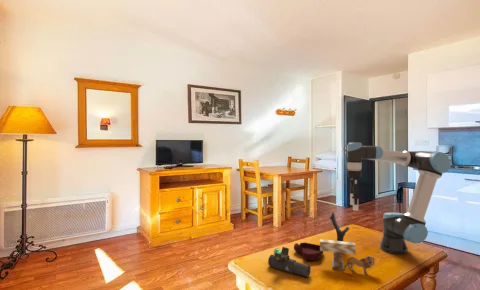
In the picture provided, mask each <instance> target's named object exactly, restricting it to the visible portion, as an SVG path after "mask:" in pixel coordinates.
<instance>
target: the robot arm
mask: <svg viewBox="0 0 480 290" xmlns="http://www.w3.org/2000/svg"><path fill="white" fill-rule="evenodd" d="M346 147H347V148H346V156H347V157H346V160H347V161H346V164H345V166H346V168H347V170H346V176H347V177H348V178H350V180H349V183H350V184H349V194H350V195H349V200H350V201H349V205H350V206H352V211H356V212H359V199H360V194H359V193H360V192H359V180H358V178H362V175H363V173H362V168H363V166H362V165H363V163H362V160H369V161H378V162H384V163H385V162H386V163H391V164H392V163H393V164H398V165H401V166H403V167H408V168H413V169H414V170H415V169H416V170H417V172H418V174H419V175H418V178H417V182H416V184H415V187H414V190H413V193H412V197H411V199H410V202H409V205H408V208H407V211H406V212H405V213H401V212H384V213H383V217H382V230H383V231H382V237H381V240H380V243H379V248H380V249H381V250H382V251H384V252H385V253H389V254H392V255H394V254H395V255H405V254H408V246H407V242H409V243H412V244H420V243H422V242H424V241H426V239H427V237H428V234H429V231H428V228H427V226H426V223H427V222H426V220H425V216H426V213H427V210H428V207H429V204H430V201H431V198H432V195H433V193H434V189H435V186H436V185H437V184H436V183H437V180H438V179H440V178H442V176H443V174H445V173H447V172H449V170H450V168H451V165H452V163H451V159H450V157H449V156H448V155H447V154H446V153H445V152H442V151H435V150H434V151H431V150H430V151H427V150H417V151H415V150H414V151H412V150H411V151H408V150H403V151H399V150H398V151H396V150H390V149H385V148H384V149H383V148H382V147H381V146H379V145H363V144H362V142H348V144H347V146H346Z"/></svg>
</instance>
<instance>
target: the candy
mask: <svg viewBox="0 0 480 290" xmlns="http://www.w3.org/2000/svg"><path fill="white" fill-rule="evenodd" d="M281 251H282V250H280V249H279V247H277V248H275V249H274V250H273V252H274V253H279V254H280V253H281Z"/></svg>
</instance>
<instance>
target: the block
mask: <svg viewBox="0 0 480 290" xmlns="http://www.w3.org/2000/svg"><path fill="white" fill-rule="evenodd" d="M319 245H320V251H323V252H329V253H334V252H336V253H342V254H347V255H352V256H353V255H355V256H356V250H357V249H356V247H357V246H356V242H352V241H344V240H343V241H337V240H333V239H321V238H320V239H319Z"/></svg>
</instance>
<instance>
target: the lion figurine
mask: <svg viewBox="0 0 480 290" xmlns="http://www.w3.org/2000/svg"><path fill="white" fill-rule="evenodd" d="M354 265H356V266H357V267H360V268H362V269H363V273H364V275H365V276H366V275H368V273H367V271H368V270H367V269H371V267H373V266H374V265H375V257H374V256H372V255H367V256H366V257H363V258H361V259H360V258H357V257H355V256H350V257H348V259H347V262H346V265H344V268H349V269H350V270H351V272H353V273H354V272H355V269H353V267H354Z"/></svg>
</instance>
